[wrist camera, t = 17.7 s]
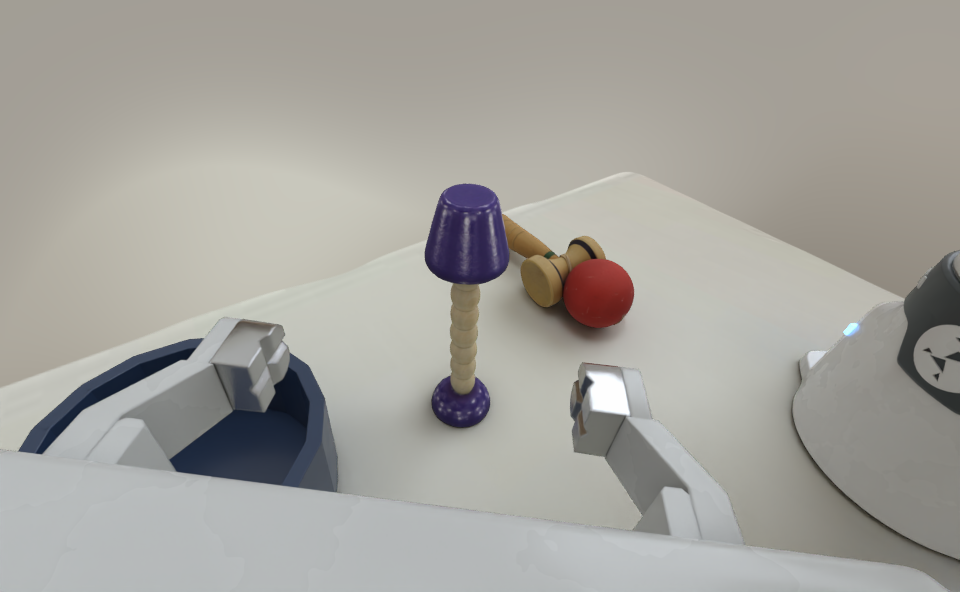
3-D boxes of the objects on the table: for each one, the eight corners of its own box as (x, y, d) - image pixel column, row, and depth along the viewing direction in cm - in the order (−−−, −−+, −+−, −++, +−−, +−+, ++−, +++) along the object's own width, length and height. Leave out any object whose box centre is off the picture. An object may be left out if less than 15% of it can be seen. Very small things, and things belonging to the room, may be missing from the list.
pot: (341, 392, 33) (330, 328, 29) (332, 608, 23) (313, 558, 19) (129, 414, 30) (82, 346, 26) (13, 670, 20) (-93, 627, 16)
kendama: (461, 260, 49) (582, 349, 37) (469, 203, 46) (604, 279, 34) (516, 252, 53) (640, 330, 41) (527, 200, 50) (664, 267, 38)
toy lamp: (424, 430, 31) (426, 218, 20) (422, 377, 35) (423, 172, 24) (493, 426, 32) (530, 219, 21) (484, 374, 35) (512, 175, 25)
